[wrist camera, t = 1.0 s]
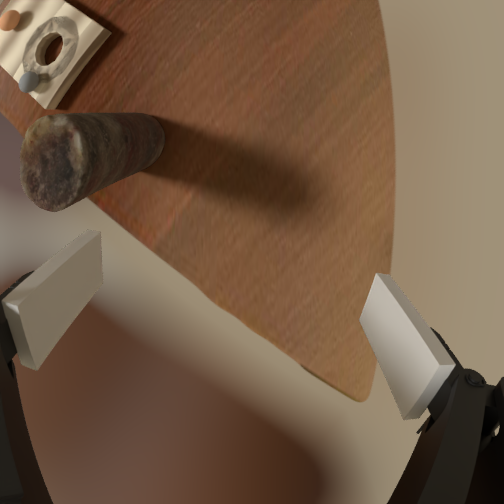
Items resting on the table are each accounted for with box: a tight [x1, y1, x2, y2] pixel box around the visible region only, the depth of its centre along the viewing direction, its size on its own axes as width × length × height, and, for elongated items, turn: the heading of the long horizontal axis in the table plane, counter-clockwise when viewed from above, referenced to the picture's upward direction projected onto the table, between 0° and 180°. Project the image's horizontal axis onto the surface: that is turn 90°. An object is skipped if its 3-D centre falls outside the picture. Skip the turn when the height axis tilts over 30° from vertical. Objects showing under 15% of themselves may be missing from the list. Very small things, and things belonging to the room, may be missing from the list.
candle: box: [20, 113, 165, 212], centre depth 27 cm, size 8×7×20 cm
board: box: [0, 0, 111, 109], centre depth 28 cm, size 22×13×2 cm, turn 46°
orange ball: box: [0, 10, 20, 31], centre depth 24 cm, size 4×4×4 cm
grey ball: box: [19, 71, 39, 93], centre depth 28 cm, size 3×3×3 cm
